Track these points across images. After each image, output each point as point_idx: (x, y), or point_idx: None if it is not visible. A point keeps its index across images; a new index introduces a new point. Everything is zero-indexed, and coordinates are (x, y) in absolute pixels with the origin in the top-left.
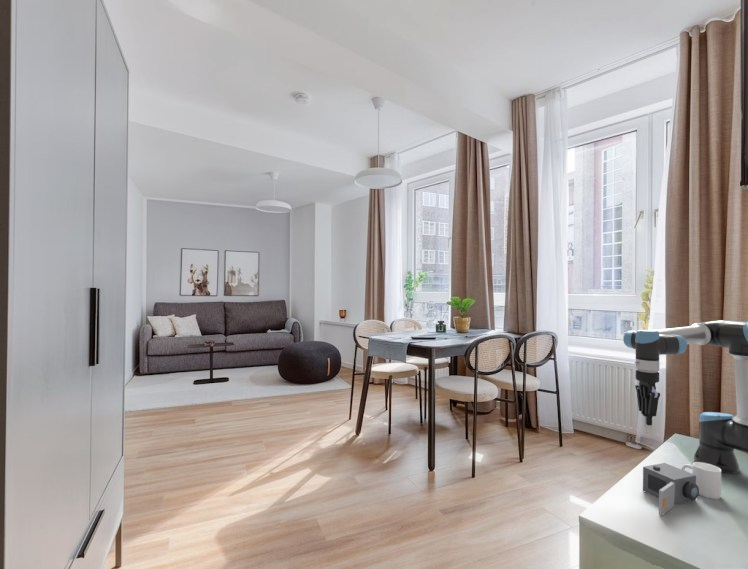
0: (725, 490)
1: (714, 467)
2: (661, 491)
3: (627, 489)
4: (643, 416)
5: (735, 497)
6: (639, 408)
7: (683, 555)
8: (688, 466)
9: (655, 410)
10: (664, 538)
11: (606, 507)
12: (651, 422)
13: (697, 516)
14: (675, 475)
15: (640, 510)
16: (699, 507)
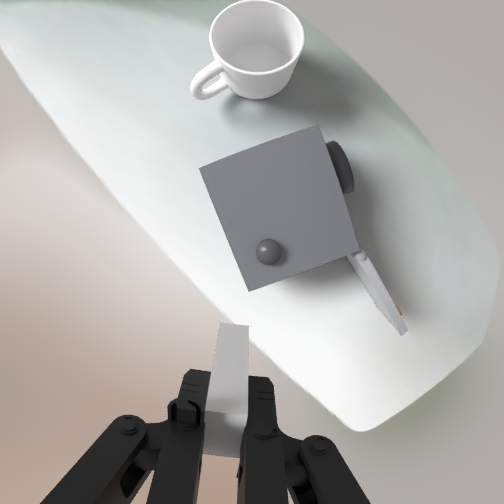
0: (229, 2)
1: (246, 4)
2: (405, 331)
3: (244, 304)
4: (223, 449)
5: None
6: (133, 471)
7: (473, 339)
8: (212, 77)
9: (356, 495)
10: (440, 344)
11: (335, 396)
12: (273, 398)
13: (386, 207)
14: (325, 215)
15: (353, 335)
16: None
